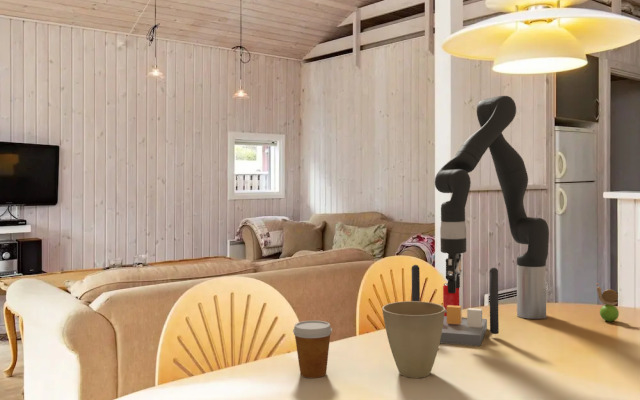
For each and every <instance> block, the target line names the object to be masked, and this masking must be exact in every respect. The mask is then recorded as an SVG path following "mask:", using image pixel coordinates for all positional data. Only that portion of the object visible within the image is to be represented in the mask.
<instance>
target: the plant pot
mask: <svg viewBox="0 0 640 400" xmlns="http://www.w3.org/2000/svg"><path fill="white" fill-rule="evenodd" d="M444 313H445V307H443V305H441V304H438V303H435V302H428V301H421V300H420V301H412V300H411V301H410V300H405V301H395V302H391V303H390V302H389V303H387V304H384V305H383V306H382V315H383V323H384V327H385V332H386V336H387V340H388V345H389V349H390V350H391V355H392V357H393V359H394V362H395V365H396V367H397V371H398V373H399V374H400V375H401V376H403V377H406V378H411V379H412V378H413V379H420V378H425V377H429V376H430V375H431V372H432V369H433V366H434V365H435V361H436V358H437V353H438V351H439V347H440V344H441V343H440V339H441V334H442V328H443V321H444Z"/></svg>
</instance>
